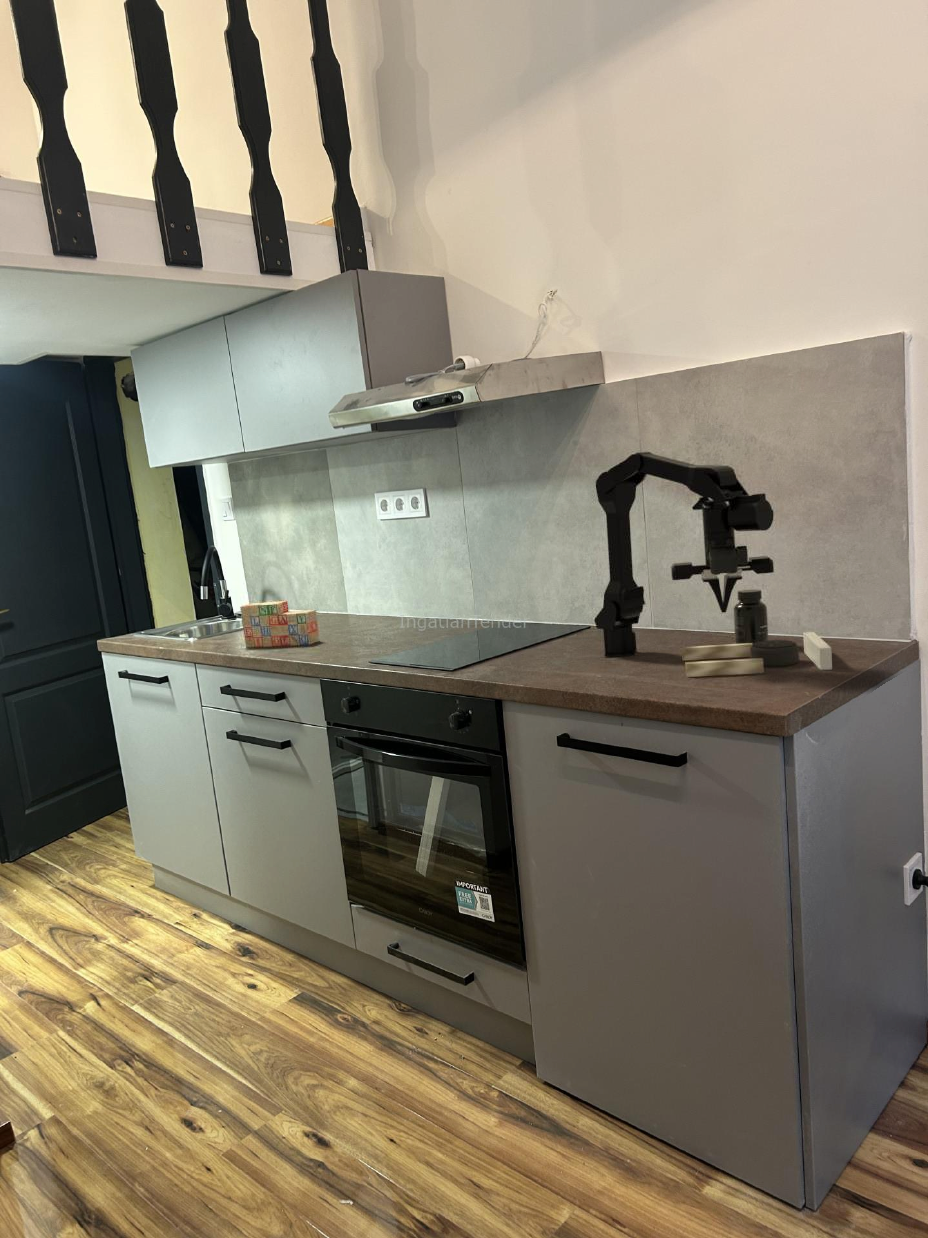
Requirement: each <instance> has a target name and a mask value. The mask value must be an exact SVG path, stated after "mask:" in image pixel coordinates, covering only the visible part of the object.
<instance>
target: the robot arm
mask: <svg viewBox="0 0 928 1238" xmlns="http://www.w3.org/2000/svg"><path fill="white" fill-rule="evenodd" d="M647 476H651V477H654V478H655V477H656V478H660V479H663V480H665V481H670V482H674V483H678V484H682V485H683V486H685V487H687V489H688V490H689V491H690V492H692V493H694V494H696V495H698V496H699V498H698V501H697V502H695V503H694V504H693V506H692V508H691V509H692V510H693V511H698V510H699V511H700V510H702V511H701V512H702V527H703V544H704V560H705V564H701V565H700V564H699V565H698V564H696V565H693V563H692V562H691V561H689V562H688V561H686V562H677V563H673V564H672V565H671V566H670V571H671V572H670V573H671V579H672V581H681V580H683V581H684V580H690V579H691V578H692V577H693V576H697V575H701V577H700V578H701V581H702V583H708V585H709V586H710V588H711V590H712V592H713V594H714V596H715V599H716V602H717V604H718V607H719V609H720V612H721V613H727V611H728V607H729V603H730V600H731V599H730V598H731V596H732V592H733V590H734V587H735V585H736V583H737V582H738V581H740V580H743V575H742V573H743V572H747V571H748V572H750V571H753V572H755V574H757V575H760V574H761V575H763V574H772V573H774V571H775V569H774V561H773V559H771V557H769V556H767V555H764V556H763V555H762V556H752V557H751V556H750V557H748V554H749V553H748V547H747V545H739V546H738V545H737V546H736V537H735V533H736V532H735V531H737V532H759V531H761V532H762V531H768V530H770V528H771V527H772V524H773V522H774V513H775V512H774V510H773V508H772V505H771V503H770V502H769V501H768V500H767V497H766V495H767V494H766V493H765V492H764V493H755V494H754V493H753V494H751V495H750V494H749V493H748V492H747V491H746V489H745V488H744V486H743V484H741V482H740V481H739V479H738V478H737V474H736V473H735V469H734V468H732V467H731V466H730V465H719V464H694V463H689V462H684V461H681V460H678V459H674V458H669V457H666V456H661V455H657V454H655V453H652V452H650V451H642V452H641V451H640V452H634V453H632V454H630V455H629V456H628V457H627V458H626V459H624V460H623V461H621V462H619V463H618V464H616V465H614V466H612V467H611V468H609V469H608V470H607V471H604V472H602V473H601V474H599V476H598V477H597V478H596V480H595V489H596V494H597V495H596V496H597V501H598V503H599V505H600V506H601V508H602V509H603V512H604V513H605V516H606V517H605V519H606V535H607V551H608V570H609V572H608V573H609V582H608V583H607V586H606V588H605V589H604V590H605V591H604V593H603V604H602V605H603V607H602V608H601V610H600V611H599V612H598V614H597V615H596V616H595V618H594V623H595V627H596V629H598V630H602V631H603V645H604V653H603V656H604V657H607V658H608V657H622V656H634V655H635V652H637V649H638V648H637V637H636V635H637V634H636V630H633V625H636V624H639V620H640V617H641V613H643V609H644V605H646V601H645V597H644V595H645V594H644V593H645V589H644V586H643V585H641V586H640V585H639V586H638V584H637V582H636V581H635V578H634V571H633V557H632V556H633V552H632V536H631V535H632V534H631V533H632V532H631V517H630V514H631V513H630V512H631V509H632V507H633V504H634V502H635V500H636V495H637V487H638V486H640V484H642V483H643V482H644V481H645V480H646V477H647ZM727 502H728V503H727ZM721 574H723V590H722V589H721V585H720V578H719V577H718V575H721ZM722 591H723V592H722Z"/></svg>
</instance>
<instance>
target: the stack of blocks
mask: <svg viewBox="0 0 928 1238" xmlns="http://www.w3.org/2000/svg"><path fill="white" fill-rule="evenodd" d="M239 609H240V613H241V614H240V615H241V622H242V623H241V624H242V629H243V636H244V642H245V647H246V648H259V647H260V648H261V647H265V648H266V647H282V646H283V647H285V646H286V647H287V646H309V645H311V644H314V643H318V642H320V637H319V627H318V617H317V609H308V610H307V609H303V610H289V604H288V601H287V600H281V601H269V602H268V601H267V602H254V603H248V604H244V605H241V606H239Z"/></svg>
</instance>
